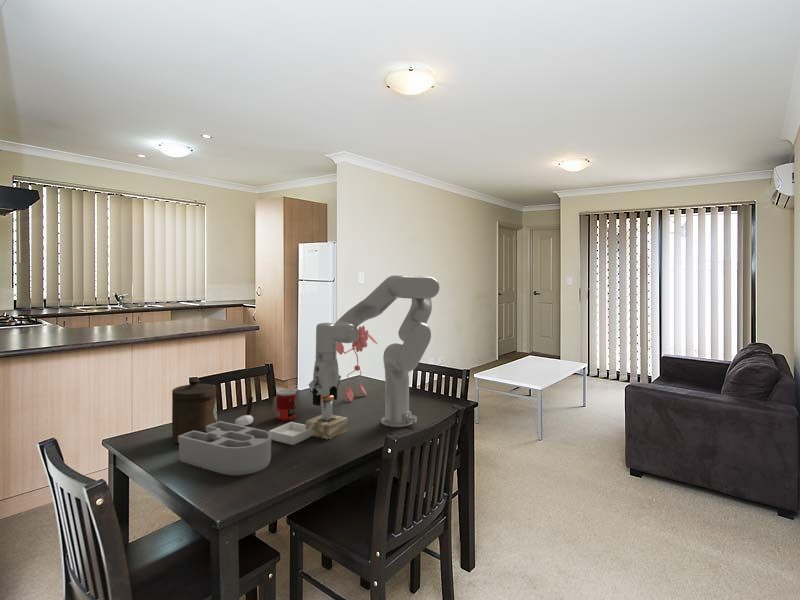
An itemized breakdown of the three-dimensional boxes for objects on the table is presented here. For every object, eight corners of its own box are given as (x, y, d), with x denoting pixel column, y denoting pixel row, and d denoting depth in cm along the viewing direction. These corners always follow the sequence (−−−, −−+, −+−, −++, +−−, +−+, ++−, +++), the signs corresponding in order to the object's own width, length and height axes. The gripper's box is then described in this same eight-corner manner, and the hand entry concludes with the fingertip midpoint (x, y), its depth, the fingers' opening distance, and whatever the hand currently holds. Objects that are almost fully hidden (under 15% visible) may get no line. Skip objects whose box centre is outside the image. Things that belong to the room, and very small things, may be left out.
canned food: (291, 421, 184) (291, 394, 183) (273, 420, 186) (272, 393, 185) (299, 415, 191) (299, 390, 191) (281, 414, 193) (281, 389, 192)
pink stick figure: (330, 403, 209) (331, 327, 207) (365, 391, 231) (366, 322, 228) (356, 409, 201) (357, 330, 198) (390, 396, 222) (391, 325, 220)
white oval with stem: (238, 438, 167) (237, 406, 165) (229, 433, 171) (227, 402, 169) (261, 430, 174) (260, 399, 173) (251, 426, 178) (250, 396, 177)
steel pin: (336, 431, 173) (336, 395, 172) (328, 435, 168) (327, 398, 167) (325, 429, 175) (325, 393, 174) (317, 433, 171) (316, 396, 170)
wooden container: (226, 435, 169) (224, 376, 168) (189, 448, 156) (188, 384, 155) (200, 428, 176) (198, 371, 175) (163, 440, 164) (161, 379, 162)
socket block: (347, 430, 174) (347, 417, 174) (329, 439, 164) (329, 426, 164) (324, 425, 179) (324, 413, 179) (305, 434, 170) (305, 421, 169)
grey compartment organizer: (220, 445, 160) (219, 420, 159) (282, 460, 147) (282, 434, 146) (178, 463, 145) (177, 436, 144) (243, 481, 132) (243, 452, 132)
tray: (315, 434, 169) (314, 426, 169) (293, 445, 159) (293, 436, 159) (291, 429, 175) (291, 421, 175) (268, 439, 165) (268, 430, 165)
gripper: (318, 361, 161) (317, 409, 161) (348, 354, 176) (347, 398, 176) (302, 358, 164) (301, 405, 165) (332, 352, 179) (331, 395, 180)
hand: (325, 402), depth 171 cm, fingers open, 9 cm apart
